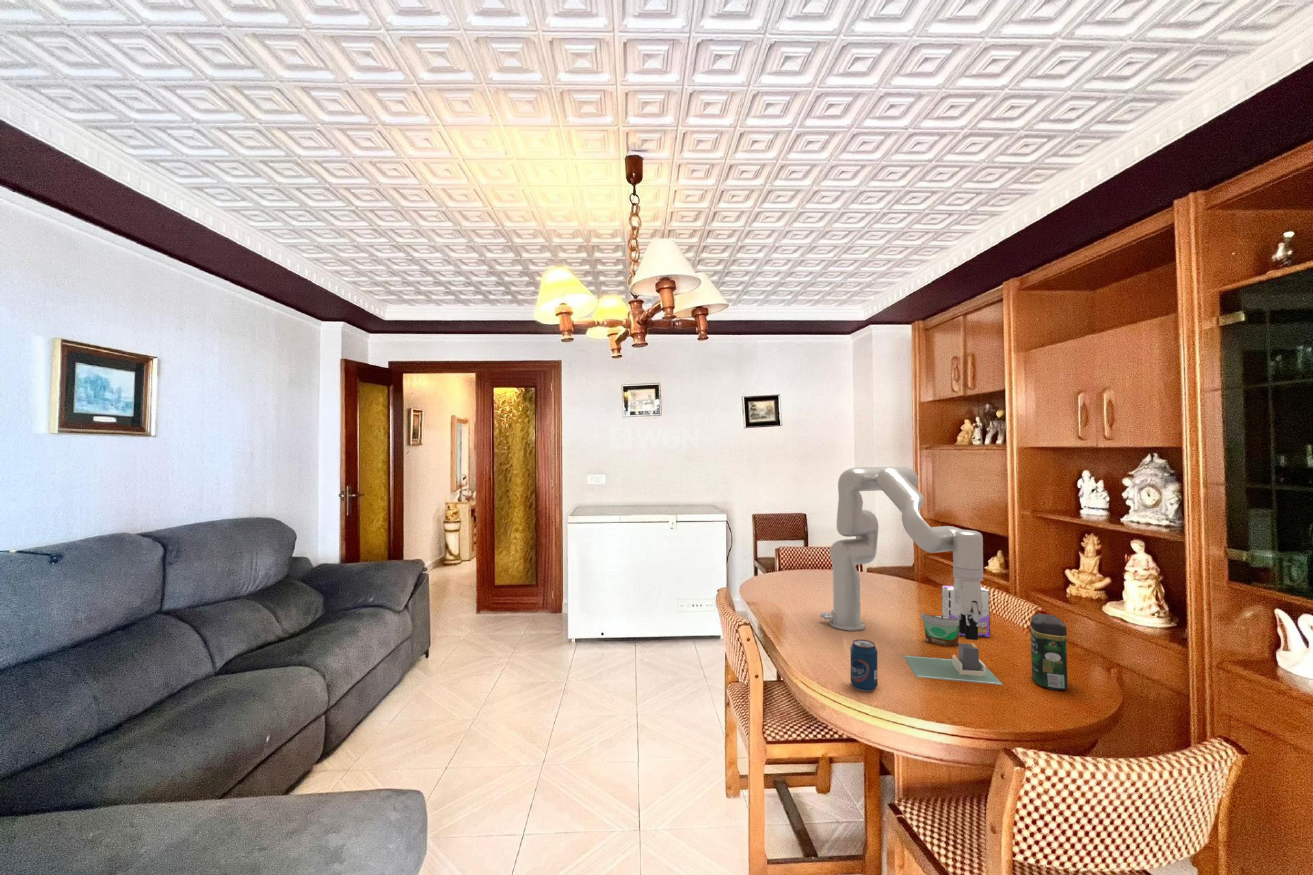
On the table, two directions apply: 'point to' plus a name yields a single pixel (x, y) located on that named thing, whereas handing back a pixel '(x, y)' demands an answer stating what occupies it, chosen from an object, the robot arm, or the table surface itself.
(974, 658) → the plug
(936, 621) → the food container
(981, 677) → the board
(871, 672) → the soda can
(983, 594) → the candy box
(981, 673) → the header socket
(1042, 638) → the coffee jar
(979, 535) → the robot arm
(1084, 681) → the table surface
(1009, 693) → the table surface
